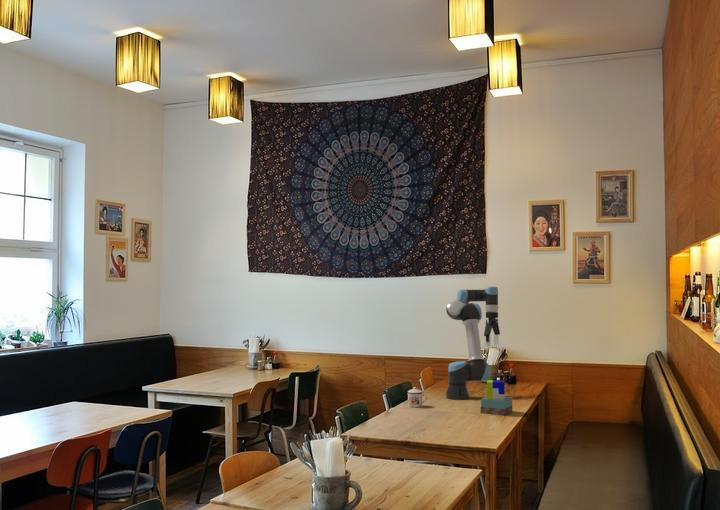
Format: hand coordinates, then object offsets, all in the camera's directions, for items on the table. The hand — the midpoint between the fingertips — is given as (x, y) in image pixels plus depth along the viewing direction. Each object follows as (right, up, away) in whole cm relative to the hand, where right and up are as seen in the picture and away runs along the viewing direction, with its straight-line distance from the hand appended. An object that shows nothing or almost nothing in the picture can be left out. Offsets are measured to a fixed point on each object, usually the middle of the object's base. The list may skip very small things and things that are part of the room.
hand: (492, 346), depth 408 cm
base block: (-1, -37, -20) cm, 42 cm away
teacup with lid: (-46, -37, -1) cm, 59 cm away
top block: (-1, -32, -20) cm, 38 cm away
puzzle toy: (-2, -28, -20) cm, 35 cm away
